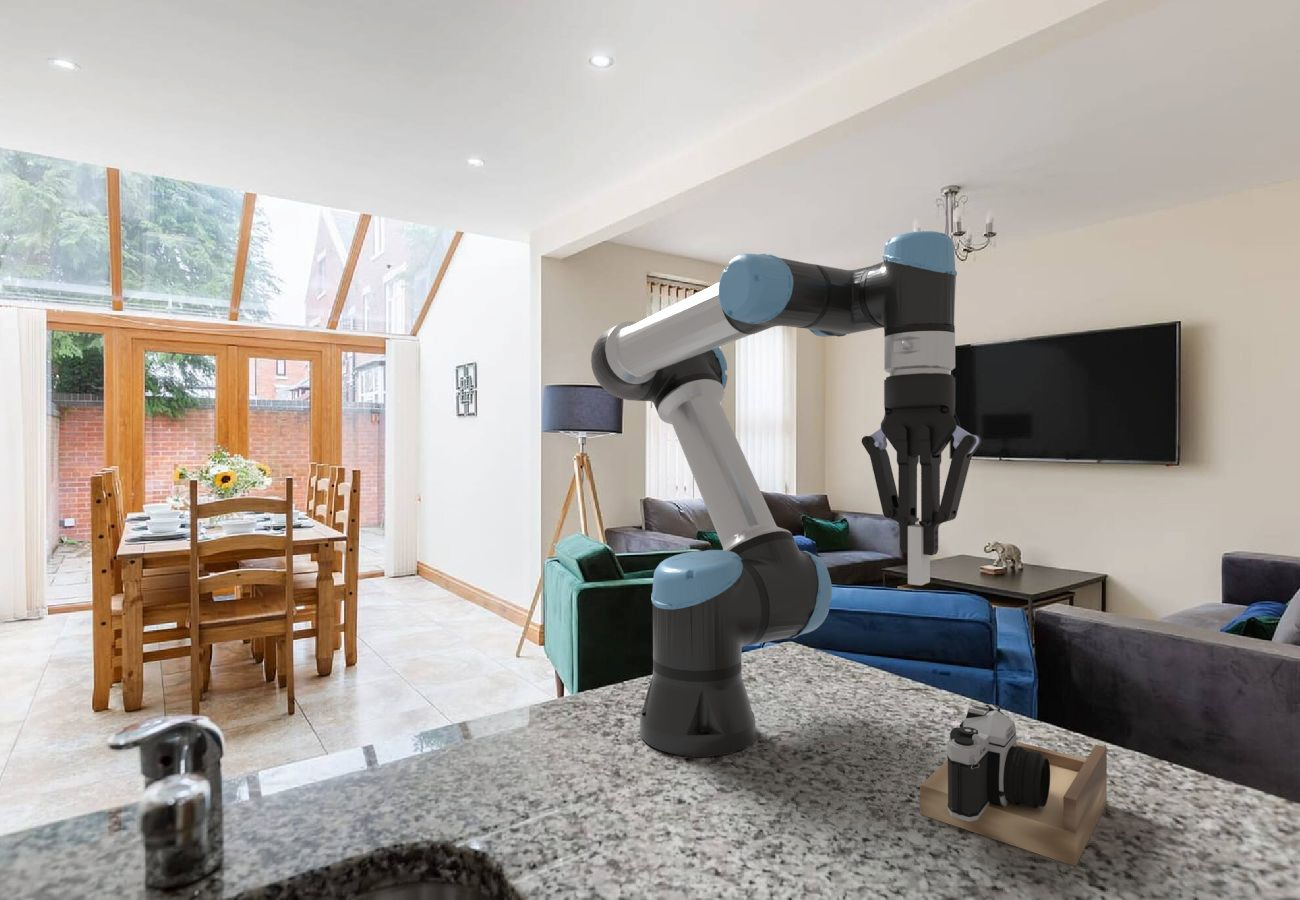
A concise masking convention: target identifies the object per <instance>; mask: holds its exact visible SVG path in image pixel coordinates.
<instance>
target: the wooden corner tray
mask: <svg viewBox="0 0 1300 900" xmlns="http://www.w3.org/2000/svg"><path fill="white" fill-rule="evenodd" d="M1017 746H1019V747H1023V749H1024V750H1026V751H1027V752H1030V751H1034V752H1038V753H1041V755H1042V757H1044V758H1047V759H1048V760H1049V764H1050V788H1049V795H1048V799H1047V803H1046V805H1045V806H1044V807H1042V806H1038V807H1037V808H1032V807H1029V806H1026V805H1025V804H1023V803H1022V804H1020V803H1019V804H1018V805H1016V804H1012V803H1011V802H1009V803H1008V805H1007V806H1006V807H1004V806H998V805H994V804H989V805H988V807H987V808H986V809H985V811H984V812H983V813H982V815H981V816H980V817H979V819H978V820H975V821H970V822H968V821H965V820H962V819H959V818H955V817H952V816H951V814H950V813H949V811H948V760H947V759H946V760H945V761H944V762H943V763H942V764H941V765H940V766H939V767H938V768H937V769H935V771H934V772H933V773H931V774H930V775H929V776H928V778H926V779H925V780H923V782H922V783H921V784H920V785H919V786H920V787H919V788H920V792H919V793H920V799H919V801H920V804H919V805H920V812H919V814H920V815H921V816H924V817H928V818H930V819H933V820H937V821H940V822H942V823H946V824H949V825H952V826H955V827H957V828H960V829H963V830H965V831H966V830H967V831H968V832H969V831H970V832H973V833H975V834H978V835H981V836H984V837H987V838H990V839H994V840H996V841H999V842H1001V843H1005V844H1009V845H1011V846H1013V847H1017V848H1019V849H1022V850H1026V851H1028V852H1032V853H1035V854H1038V855H1040V856H1043V857H1046V858H1049V859H1052V860H1056V861H1059V862H1062V863H1064V864H1067V865H1070V866H1073V867H1077V866H1078V863H1079V860H1080V858H1081V857H1082V854H1083V853H1084V851H1085V849H1086V846H1087V845H1088V842H1089V840H1090V838H1091V837H1092V834H1093V832H1094V831H1095V828H1096V827H1097V824H1098V822H1099V820H1100V817H1101V816H1102V813H1103V812H1104V809H1105V808H1106V805H1107V795H1108V794H1107V791H1108V790H1107V788H1108V787H1107V785H1108V784H1107V783H1108V781H1107V780H1108V777H1107V776H1108V773H1107V772H1108V771H1107V770H1108V764H1107V759H1108V756H1107V754H1108V751H1107V749H1108V747H1107V746H1105V745H1099V744H1095V745H1094V747H1093V748H1092V750H1091V751H1090V753H1089V755H1088V756H1087V758H1084V757H1079V756H1077V755H1076V756H1075V755H1071V754H1069V753H1063V752H1060V751H1056V750H1052V749H1049V748H1045V747H1040V746H1036V745H1032V744H1029V743H1024V742H1019V741H1017Z"/></svg>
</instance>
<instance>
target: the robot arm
mask: <svg viewBox="0 0 1300 900" xmlns="http://www.w3.org/2000/svg"><path fill="white" fill-rule="evenodd" d="M954 243H955V242H954V241H953V239H952V237H951V236H949V235H948V234H946V233H943V232H939V231H932V230H926V231H925V230H924V231H923V230H922V231H921V230H920V231H919V230H918V231H911V232H905V233H902V234H897V235H895V236H893V237H892V238H890V239H889V240H888V241H886V242H885V244H884V250H883V251H884V254H883V255H882V260H883V261H882V262H879V263H876V264H873V265H870V266H865V267H862V268H857V269H843V268H839V267H838V268H837V267H832V266H828V265H827V266H826V265H821V264H815V263H814V264H813V263H808V262H803V261H798V260H792V259H787V258H783V257H778V256H776V255H773V254H766V253H760V254H756V253H741V254H738V255H736V256H735V257H733V258H732V259H731V260H730V261H729V262H728V266H727V267H726V268H724V269H723V271H722V272H721V275H720V278H719V280H718V281H719V282H716V283H715V284H713V285H711V286H709V287H707V288H705V289H703V290H701V291H699V292H697V293H695V294H693V295H691V296H689V297H687V298H685V299H682V300H681V301H679V302H676V303H675V304H673V305H670V306H668V307H666V308H664V309H663V310H660V311H658V312H656V313H655V314H652V315H650V316H648V317H646V318H644V319H642V320H640V321H638V322H636V321H633V320H632V321H630V320H629V321H623V322H621V323H618V324H616V325H614V326H613V327H610V328H609V329H607V330H606V331H604V332H603V333H602V334H601V335H600V336H599V337H598V338H597V340H596V342H595V344H594V346H593V348H592V351H591V357H590V358H591V359H590V363H591V369H592V373H593V376H594V377H595V380H596V382H597V383H598V384H599V386H600V387H602V389H604V390H605V391H606V392H607V393H609V394H610V395H612V396H614V397H616V398H617V399H622V400H626V401H637V402H639V401H640V402H652V403H653V405H654V407H655V410H656V413H657V414H658V417H659V419H660V420H661V421H662V422H664V423H666V424H669V425H672V427H673V429H674V432H675V436H676V437H677V439H678V441H679V445H680V446H681V449H682V452H683V454H684V457H685V459H686V462H687V463H688V466H689V468H690V471H691V473H692V475H693V478H694V481H695V483H696V486H697V488H698V491H699V493H700V495H701V498H702V500H703V503H704V505H705V508H706V510H707V512H708V515H709V517H710V520H711V522H712V524H713V527H714V529H715V532H716V534H717V537H718V539H719V541H720V544H721V547H722V549H708V550H702V551H700V550H696V551H695V550H694V551H689V552H683V553H680V554H675V555H673V556H672V555H671V556H669V557H668V558H665V559H664V560H663V561H662V560H661V562H659V564H658V565H657V566H656V568H655V570H654V572H653V579H652V592H651V604H652V661H653V662H652V664H653V665H652V677H651V680H650V684H649V685H648V686H649V687H648V690H647V693H646V695H645V699H644V702H643V708H642V709H641V710H640V711H641V712H640V716H639V734H640V735H639V736H640V737H641V739H642V741H644V742H645V743H646V744H647V745H649V746H650V747H652V748H654V749H656V750H659V751H662V752H664V753H668V754H672V755H678V756H684V757H698V758H699V757H715V756H724V755H729V754H733V753H736V752H738V751H741V750H743V749H746V748H747V747H749V746H750V745H751V744H752V743H753V742H754V741H755V738H756V719H755V718H756V717H755V714H754V712H753V710H752V706H751V703H750V699H749V698H750V697H749V696H748V692H747V688H746V686H745V683H744V679H743V676H742V674H743V673H742V648H743V647H748V646H752V645H753V646H754V645H758V644H762V643H769V642H774V641H778V640H779V641H780V640H782V639H783V640H784V639H787V640H789V639H795V638H798V637H799V636H801V635H802V636H803V635H804V634H809V633H811V632H813V631H815V630H817V629H818V628H819V627H820V626H821V625H822V624H823V623H824V622H825V620H826V618H827V617H828V615H829V611H830V603H831V602H832V598H833V588H832V580H831V577H830V573H829V570H828V568H827V566H826V564H825V563H824V561H823V560H822V559H821V558H820V557H819V556H817V555H815V554H813V553H812V552H809V551H807V550H800V549H799V546H798V544H797V543H796V542H797V541H796V540H795V538H794V536H793V534H792V532H791V531H789V530H788V529H786V528H783V527H779V526H778V525H777V524H776V521H775V520H774V517H773V515H772V513H771V510H770V508H769V507H768V504H767V502H766V500H765V498H764V496H763V494H762V492H761V489H760V487H759V485H758V483H757V480H756V478H755V476H754V474H753V472H752V470H751V467H750V465H749V462H748V461H747V459H746V456H745V453H744V452H743V450H742V448H741V445H740V443H739V441H738V439H737V437H736V434H735V432H734V430H733V428H732V425H731V424H730V422H729V419H728V417H727V415H726V413H725V411H724V409H723V407H722V404H721V403H722V402H723V399H724V398H725V389H726V386H727V382H728V375H727V374H726V371H728V365H727V364H728V363H727V359H726V357H725V355H724V352H723V351H722V349H721V348H720V347H722V346H725V345H727V344H730V343H733V342H736V341H738V340H741V339H743V338H746V337H749V336H751V335H755V334H757V333H758V334H759V333H760V332H763V331H765V330H768V329H771V328H774V327H782V326H783V327H790V328H798V329H807V330H809V331H810V332H811V333H812V334H813V335H815V336H818V337H823V338H825V337H826V338H827V337H839V338H840V337H844V336H847V335H850V334H854V333H860V332H865V331H872V330H877V329H882V328H883V331H884V346H883V347H884V348H883V349H884V350H883V351H884V353H883V354H884V355H883V356H884V360H883V362H884V365H883V366H884V368H883V369H884V371H885V372H886V373H887V374H889V376H887V377H885V379H883V381H884V382H883V389H884V390H883V397H884V398H883V408H884V416H883V418H882V420H881V422H880V428H879V429H877V430H876V431H875V432H873V433H872V434H870V435H865V436H863V437H862V438H861V444H862V446H863V447H864V449H865V450H866V452H867V453H868V455H869V458H870V462H871V467H872V472H873V476H874V481H875V485H876V490H877V493H878V497H879V501H880V505H881V509H882V514H883V516H884V517H885V518H886V519H891V520H894V521H895V522H897V523H898V524H899V549H900V552H901V553H904V554H905V553H906V554H907V585H914V586H924V585H926V584H929V583H930V582H931V556H934V555H937V554H938V551H939V527H940V525H942V524H943V523H947V522H950V521H953V520H955V519H956V517H957V515H958V511H959V507H960V503H961V500H962V499H961V498H962V496H963V491H964V488H965V484H966V479H967V476H968V472H969V468H970V464H971V461H972V456H973V455H974V453H976V451H977V449H978V448H979V447H980V445H981V443H982V439H981V436H980V435H977V434H971V433H970V432H968V431H967V430H965V429H964V428H962V427H961V423H960V421H959V418H958V417H957V414H956V377H954V374H950V371H953V370H954V369H956V331H955V330H956V328H955V327H956V325H955V310H956V309H955V306H956V304H955V303H956V287H957V286H956V284H957V283H956V282H957V275H958V272H957V270H956V259H955V258H956V257H955V255H956V254H955V244H954ZM952 439H953V444H952V446H953V447H954V449H955V450H954V452H953V454H952V457H951V461H950V465H949V469H948V473H947V476H946V481H945V483H944V484H945V485H944V489H943V493H942V495H941V482H940V481H941V480H940V479H941V464H942V453H943V451H944V450H945V449H946V448H947V446H948V445H949V443H951V441H952ZM887 441H888V442H889V443H890V445H891V446H892V447H893V449H894V450H895V452H896V463H897V466H898V473H897V474H898V475H897V476H898V483H897V484H898V486H896V482H895V477H894V474H893V469H892V464H891V461H890V456H889V453H888V450H887V448H888V442H887ZM918 464H919V465H920V508H921V509H920V512H921V513H920V517H918ZM897 487H898V490H897ZM919 520H920V521H919ZM917 522H918V523H917Z"/></svg>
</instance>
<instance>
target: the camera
mask: <svg viewBox="0 0 1300 900" xmlns="http://www.w3.org/2000/svg"><path fill="white" fill-rule="evenodd" d="M967 709H968V710H967V713H966V716H965V717H964V719H963V720H962V722H961V723H960V724H959V727H954V728H951V731H950V733H949V739H948V741H947V755H946V756H947V757H946V760H948V811H949V813H950V814H951V816H952V817H955V818H959V819H962V820H965V821H968V822H970V821H975V820H978V819H979V817H980V816H981V815H982V813H983V812H984V811H985V809H986V808H987V807H988V805H989V804H994V805H998V806H1004V807H1006V806H1007V805H1008V803H1009V802H1011V803H1012V804H1016V805H1018V804H1019V803H1020V804H1022V803H1023V804H1025V805H1026V806H1029V807H1032V808H1037V807H1038V806H1042V807H1044V806H1045V805H1046V803H1047V799H1048V795H1049V788H1050V764H1049V760H1048V759H1047V758H1044V757H1042V755H1041V753H1038V752H1034V751H1030V752H1027V751H1026V750H1024V749H1023V747H1019V746H1017V742H1018V741H1017V740H1018V739H1019V738H1018V736H1017V731H1016V724H1015V721H1014V720H1012V719H1011V718H1010V717H1008V715H1007V713H1006V712H1005V711H1001V707H1000V706H999V705H996V704H985V705H980V704H976V703H973V704H972V706H971V707H969V708H967Z"/></svg>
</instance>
